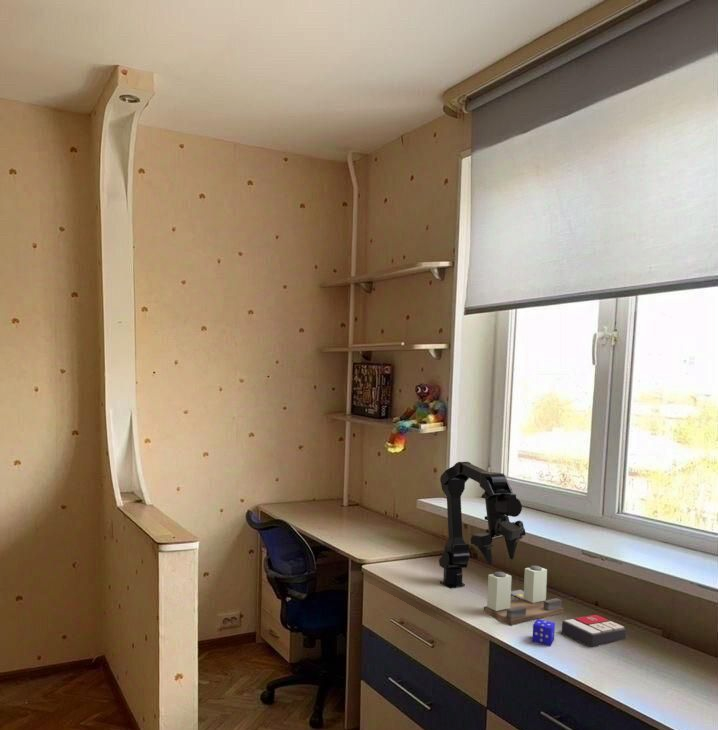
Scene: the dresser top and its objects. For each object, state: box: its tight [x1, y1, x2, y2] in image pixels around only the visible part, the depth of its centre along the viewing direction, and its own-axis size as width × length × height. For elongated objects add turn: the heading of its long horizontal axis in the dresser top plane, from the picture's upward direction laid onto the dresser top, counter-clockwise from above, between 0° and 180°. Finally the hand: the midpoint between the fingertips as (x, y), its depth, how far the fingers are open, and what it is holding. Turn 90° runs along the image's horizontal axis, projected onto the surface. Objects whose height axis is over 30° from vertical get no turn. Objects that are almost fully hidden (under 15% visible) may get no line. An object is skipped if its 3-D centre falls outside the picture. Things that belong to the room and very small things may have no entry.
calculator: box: [561, 614, 627, 648], centre depth 185 cm, size 11×4×15 cm
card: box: [511, 589, 524, 599], centre depth 215 cm, size 8×6×1 cm
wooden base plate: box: [482, 597, 565, 626], centre depth 200 cm, size 12×23×4 cm, turn 121°
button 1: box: [486, 571, 512, 611], centre depth 198 cm, size 4×6×11 cm, turn 121°
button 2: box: [523, 564, 548, 603], centre depth 207 cm, size 4×6×11 cm, turn 122°
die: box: [531, 619, 556, 647], centre depth 179 cm, size 5×5×5 cm
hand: (501, 562), depth 202 cm, fingers open, 9 cm apart
